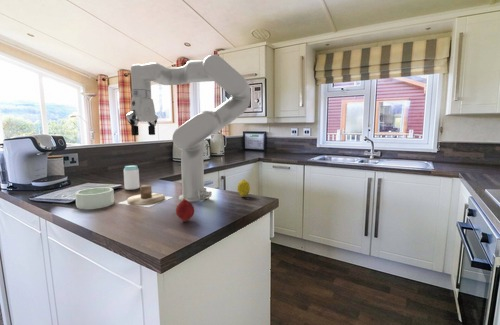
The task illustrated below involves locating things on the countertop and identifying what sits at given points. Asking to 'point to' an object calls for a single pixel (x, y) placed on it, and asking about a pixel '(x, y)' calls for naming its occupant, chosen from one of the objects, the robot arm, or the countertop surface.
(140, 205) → the mat
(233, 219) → the countertop surface
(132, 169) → the can
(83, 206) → the bowl
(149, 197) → the lid
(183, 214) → the onion
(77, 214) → the countertop surface
